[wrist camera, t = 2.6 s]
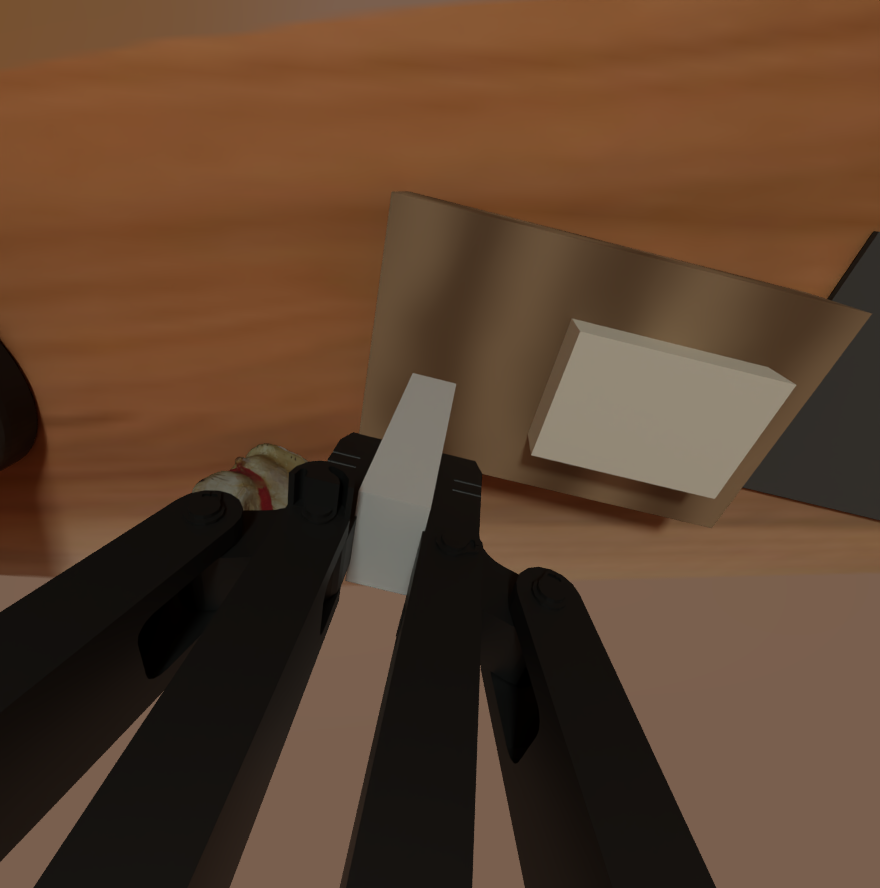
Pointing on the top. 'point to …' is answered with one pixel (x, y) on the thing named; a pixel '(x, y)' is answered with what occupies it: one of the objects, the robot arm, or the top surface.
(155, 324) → the top surface
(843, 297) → the mat
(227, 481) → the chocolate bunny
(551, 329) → the brown wooden flat slab
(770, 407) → the block
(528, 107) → the top surface
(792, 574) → the top surface
